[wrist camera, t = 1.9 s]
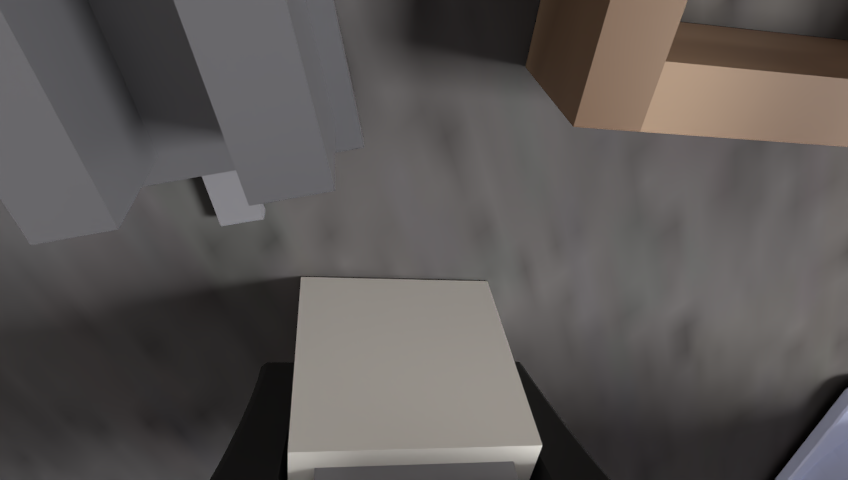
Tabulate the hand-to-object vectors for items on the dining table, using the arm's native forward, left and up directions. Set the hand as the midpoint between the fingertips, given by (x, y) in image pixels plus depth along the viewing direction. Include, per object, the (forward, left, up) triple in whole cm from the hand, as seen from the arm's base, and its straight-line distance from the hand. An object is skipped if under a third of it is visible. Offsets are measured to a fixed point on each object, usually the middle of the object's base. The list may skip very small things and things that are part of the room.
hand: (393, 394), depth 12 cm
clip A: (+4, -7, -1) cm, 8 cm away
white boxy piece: (0, 0, -1) cm, 1 cm away
